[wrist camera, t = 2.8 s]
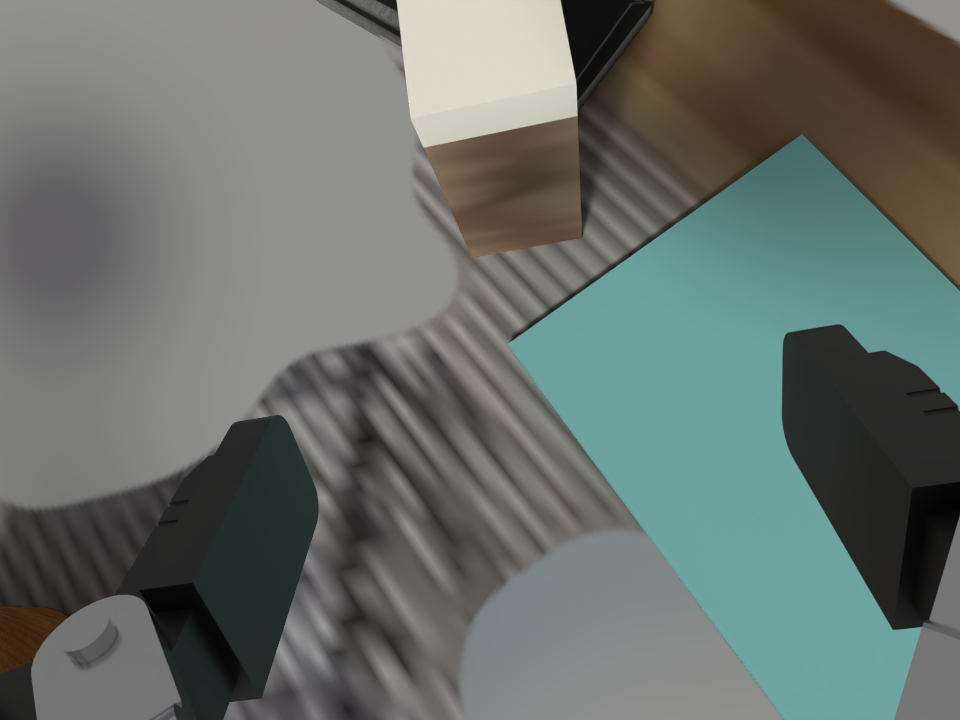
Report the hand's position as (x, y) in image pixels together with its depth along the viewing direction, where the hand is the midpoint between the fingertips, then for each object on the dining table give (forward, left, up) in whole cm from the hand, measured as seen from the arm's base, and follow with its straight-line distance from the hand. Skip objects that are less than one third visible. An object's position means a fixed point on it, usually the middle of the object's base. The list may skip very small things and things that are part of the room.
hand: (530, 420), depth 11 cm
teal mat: (+3, +8, -15) cm, 18 cm away
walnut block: (-11, +5, -15) cm, 19 cm away
